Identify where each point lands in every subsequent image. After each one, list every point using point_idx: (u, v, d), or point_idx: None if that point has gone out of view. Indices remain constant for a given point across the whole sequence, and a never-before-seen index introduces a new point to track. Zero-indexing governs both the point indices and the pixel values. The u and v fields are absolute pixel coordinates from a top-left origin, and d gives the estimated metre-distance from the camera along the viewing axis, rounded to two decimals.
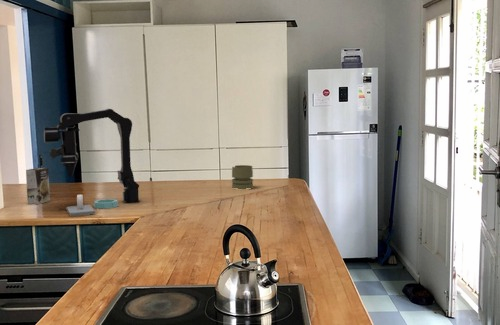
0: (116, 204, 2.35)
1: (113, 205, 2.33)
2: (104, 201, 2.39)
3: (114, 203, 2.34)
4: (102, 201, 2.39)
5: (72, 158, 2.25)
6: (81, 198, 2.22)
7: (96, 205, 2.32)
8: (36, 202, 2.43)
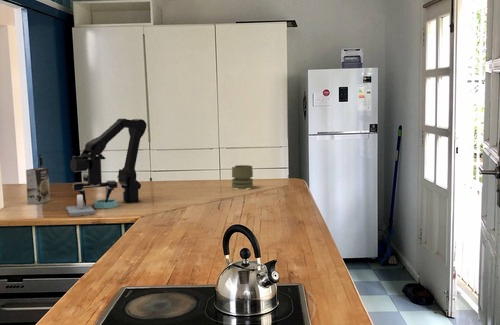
0: (116, 204, 2.35)
1: (113, 205, 2.33)
2: (104, 201, 2.39)
3: (114, 203, 2.34)
4: (102, 201, 2.39)
5: (73, 186, 2.28)
6: (81, 198, 2.22)
7: (96, 205, 2.32)
8: (36, 202, 2.43)
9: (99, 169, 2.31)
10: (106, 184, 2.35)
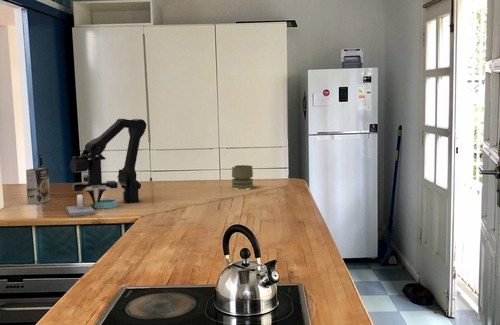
0: (116, 204, 2.35)
1: (113, 205, 2.33)
2: (104, 201, 2.39)
3: (114, 203, 2.34)
4: (102, 201, 2.39)
5: (73, 187, 2.28)
6: (81, 198, 2.22)
7: (96, 205, 2.32)
8: (36, 202, 2.43)
9: (99, 169, 2.31)
10: (98, 185, 2.33)
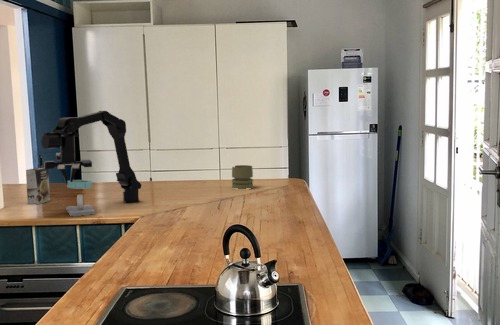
0: (90, 185, 2.22)
1: (87, 186, 2.20)
2: (78, 182, 2.26)
3: (88, 184, 2.20)
4: (76, 181, 2.26)
5: (44, 164, 2.14)
6: (81, 198, 2.22)
7: (68, 184, 2.19)
8: (36, 202, 2.43)
9: (73, 147, 2.18)
10: (71, 163, 2.20)
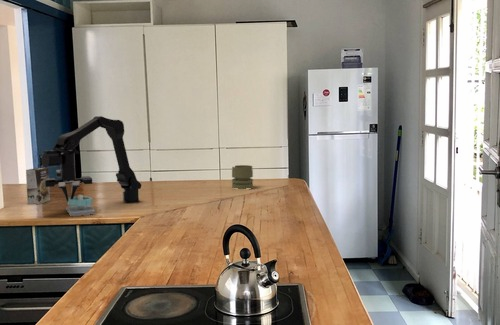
0: (91, 202, 2.23)
1: (87, 203, 2.21)
2: None
3: (88, 201, 2.21)
4: (76, 198, 2.26)
5: (45, 182, 2.15)
6: (81, 198, 2.22)
7: (69, 202, 2.19)
8: (36, 202, 2.43)
9: (73, 164, 2.19)
10: (71, 181, 2.21)
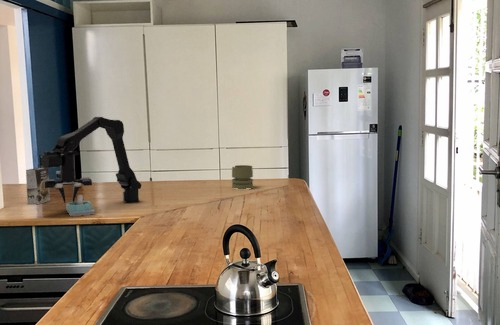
0: (90, 206, 2.23)
1: (86, 207, 2.21)
2: None
3: (87, 205, 2.21)
4: (75, 203, 2.26)
5: (44, 184, 2.15)
6: (81, 198, 2.22)
7: (68, 207, 2.19)
8: (36, 202, 2.43)
9: (72, 165, 2.19)
10: (73, 182, 2.21)
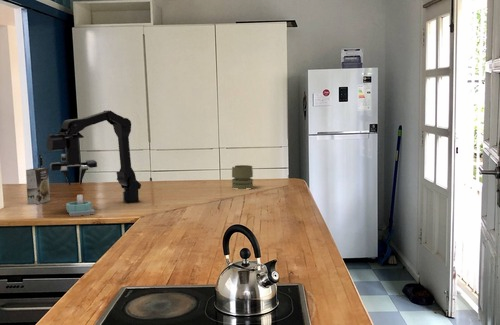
0: (90, 206, 2.23)
1: (86, 207, 2.21)
2: None
3: (87, 205, 2.21)
4: (75, 203, 2.26)
5: (51, 166, 2.19)
6: (81, 198, 2.22)
7: (68, 207, 2.19)
8: (36, 202, 2.43)
9: (77, 148, 2.23)
10: (80, 164, 2.25)
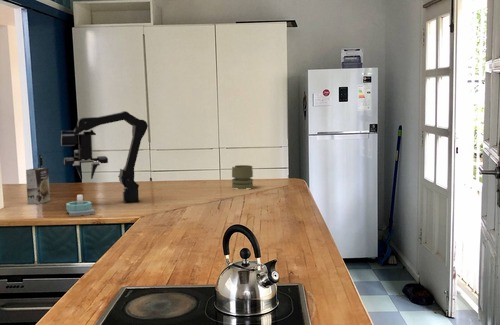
0: (90, 206, 2.23)
1: (86, 207, 2.21)
2: None
3: (87, 205, 2.21)
4: (75, 203, 2.26)
5: (64, 161, 2.32)
6: (81, 198, 2.22)
7: (68, 207, 2.19)
8: (36, 202, 2.43)
9: (88, 144, 2.34)
10: None
